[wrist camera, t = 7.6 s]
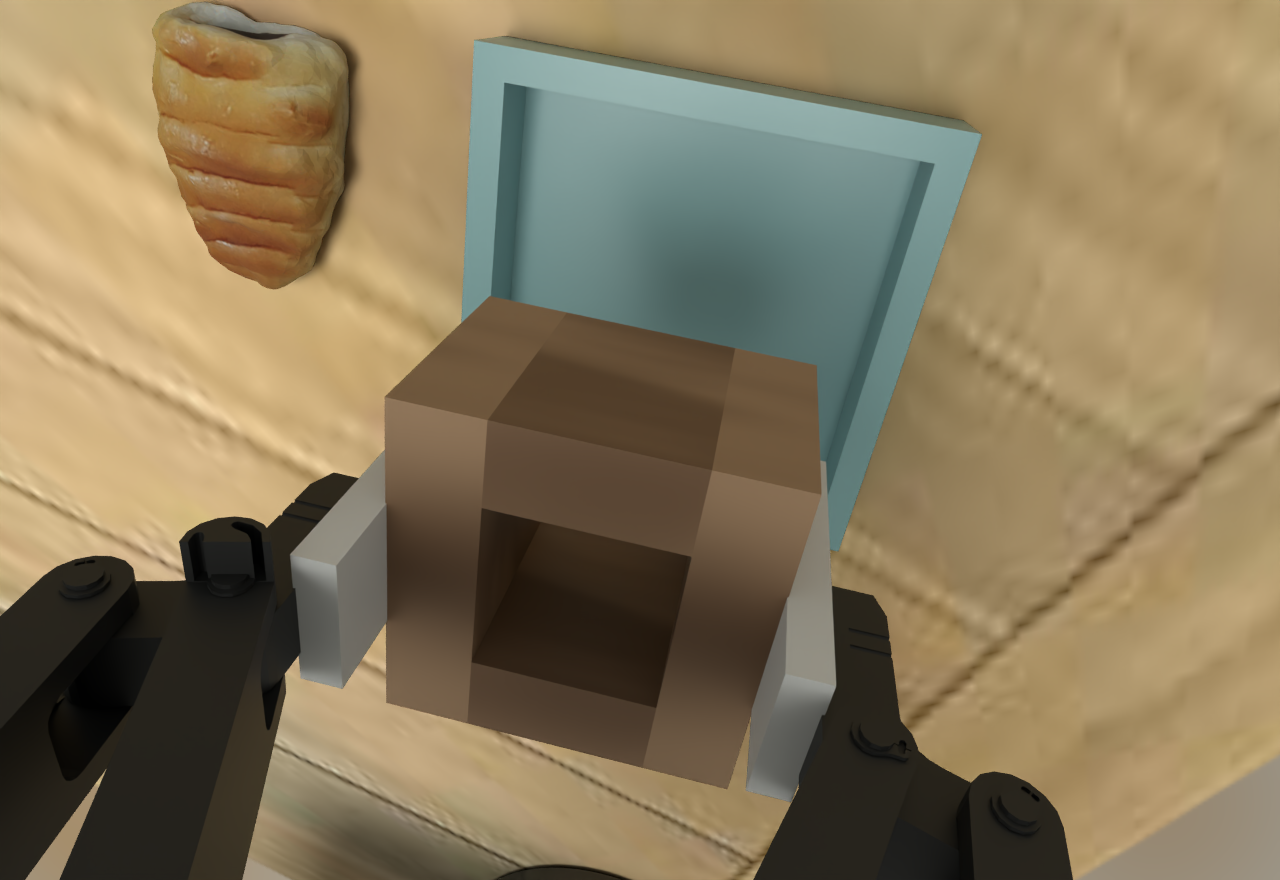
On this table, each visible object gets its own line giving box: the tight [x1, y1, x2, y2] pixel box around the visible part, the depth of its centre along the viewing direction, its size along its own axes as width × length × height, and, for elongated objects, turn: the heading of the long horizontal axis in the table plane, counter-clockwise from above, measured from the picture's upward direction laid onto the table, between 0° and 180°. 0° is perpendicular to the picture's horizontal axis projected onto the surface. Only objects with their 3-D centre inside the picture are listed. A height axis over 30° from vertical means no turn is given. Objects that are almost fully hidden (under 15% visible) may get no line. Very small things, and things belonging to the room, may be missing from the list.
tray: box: [461, 36, 982, 551], centre depth 29 cm, size 15×15×3 cm
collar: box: [385, 296, 822, 789], centre depth 17 cm, size 7×7×5 cm
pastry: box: [152, 2, 349, 289], centre depth 29 cm, size 9×7×4 cm
